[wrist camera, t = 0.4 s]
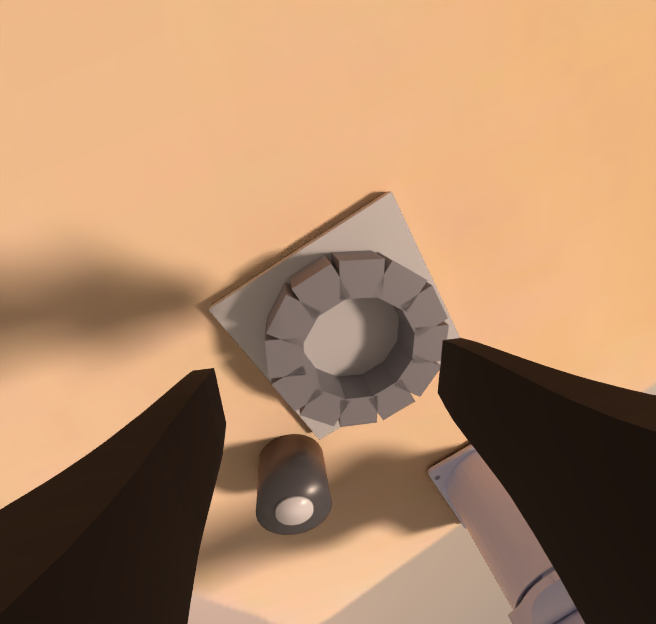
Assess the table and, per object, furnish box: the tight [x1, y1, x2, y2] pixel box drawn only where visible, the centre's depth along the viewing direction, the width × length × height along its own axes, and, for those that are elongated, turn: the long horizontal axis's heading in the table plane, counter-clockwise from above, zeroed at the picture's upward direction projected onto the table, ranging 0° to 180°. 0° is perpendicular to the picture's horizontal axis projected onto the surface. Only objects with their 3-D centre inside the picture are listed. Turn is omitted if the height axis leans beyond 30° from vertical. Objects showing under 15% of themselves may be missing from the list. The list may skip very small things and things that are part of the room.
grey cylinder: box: [256, 434, 331, 535], centre depth 21 cm, size 5×5×4 cm
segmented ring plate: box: [209, 192, 460, 440], centre depth 19 cm, size 12×12×3 cm
